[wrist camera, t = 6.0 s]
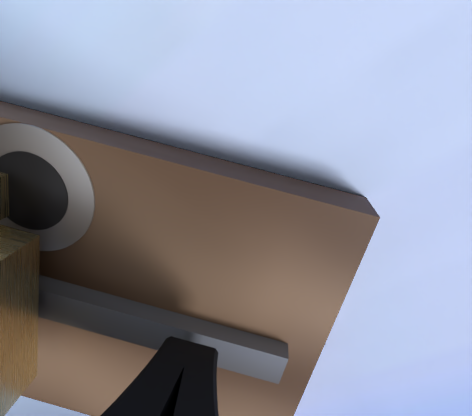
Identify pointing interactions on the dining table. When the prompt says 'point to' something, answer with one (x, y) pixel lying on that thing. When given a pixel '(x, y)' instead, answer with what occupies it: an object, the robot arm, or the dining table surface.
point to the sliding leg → (17, 306)
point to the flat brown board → (174, 262)
